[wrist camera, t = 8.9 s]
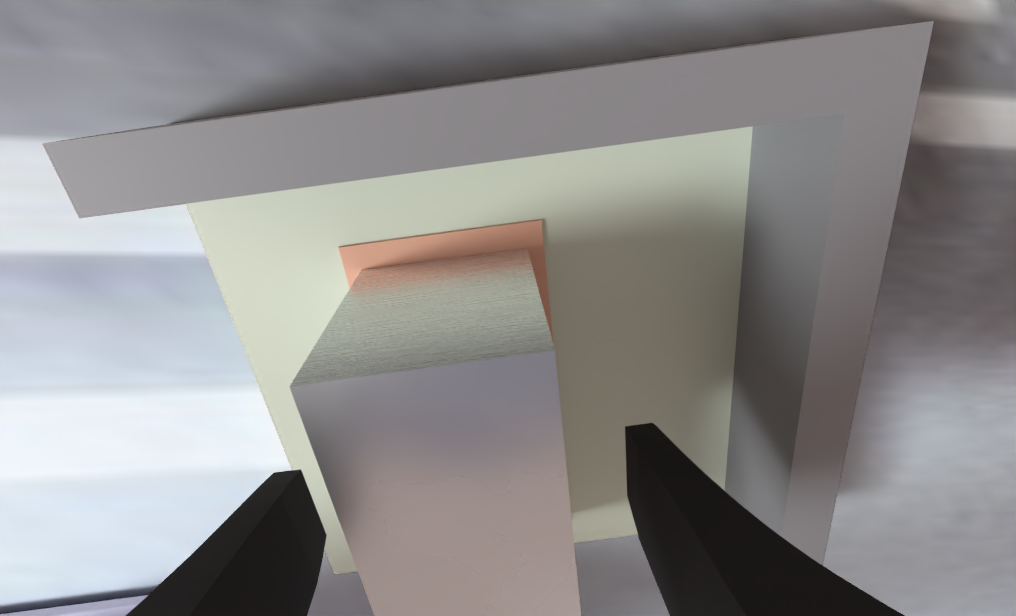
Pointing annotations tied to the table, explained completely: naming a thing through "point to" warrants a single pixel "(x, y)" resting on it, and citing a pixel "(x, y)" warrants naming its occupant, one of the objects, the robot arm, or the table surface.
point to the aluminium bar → (445, 439)
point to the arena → (582, 243)
